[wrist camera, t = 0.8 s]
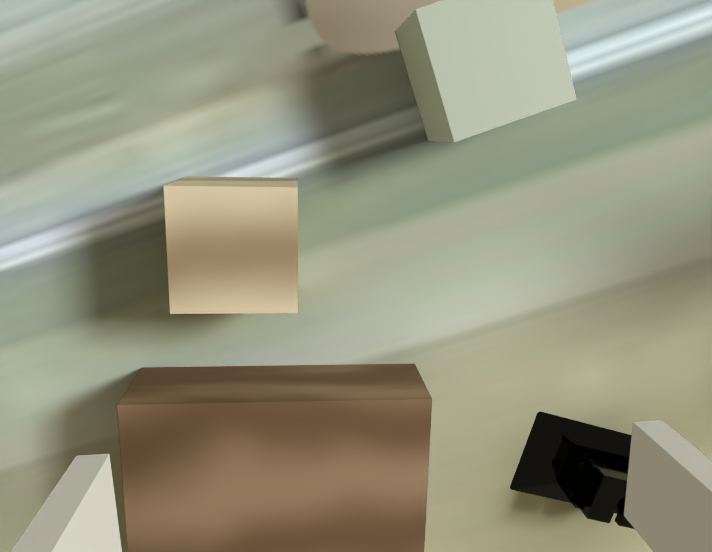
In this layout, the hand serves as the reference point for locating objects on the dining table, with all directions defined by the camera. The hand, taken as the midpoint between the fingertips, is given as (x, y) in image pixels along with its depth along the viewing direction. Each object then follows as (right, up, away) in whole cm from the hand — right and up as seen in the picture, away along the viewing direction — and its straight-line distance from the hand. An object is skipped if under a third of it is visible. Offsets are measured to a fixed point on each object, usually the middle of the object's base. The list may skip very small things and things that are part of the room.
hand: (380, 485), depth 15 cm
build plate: (+15, -7, +25) cm, 30 cm away
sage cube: (+5, +17, +18) cm, 25 cm away
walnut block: (-5, -8, +23) cm, 25 cm away
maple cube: (-7, +8, +19) cm, 22 cm away
